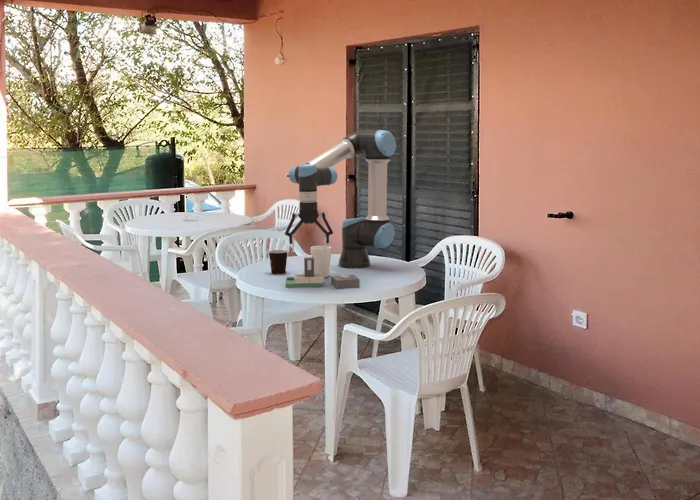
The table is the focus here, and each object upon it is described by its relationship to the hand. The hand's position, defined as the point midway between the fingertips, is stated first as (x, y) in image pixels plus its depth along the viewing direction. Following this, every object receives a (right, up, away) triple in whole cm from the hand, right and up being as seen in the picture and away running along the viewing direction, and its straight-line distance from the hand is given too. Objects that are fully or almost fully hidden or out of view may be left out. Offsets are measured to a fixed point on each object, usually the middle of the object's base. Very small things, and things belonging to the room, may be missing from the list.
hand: (309, 251), depth 320 cm
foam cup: (+4, -11, +21) cm, 24 cm away
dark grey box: (+15, -14, 0) cm, 21 cm away
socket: (0, -13, +2) cm, 13 cm away
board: (-2, -14, +3) cm, 15 cm away
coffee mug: (-15, -10, +30) cm, 35 cm away
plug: (0, -13, +2) cm, 13 cm away
